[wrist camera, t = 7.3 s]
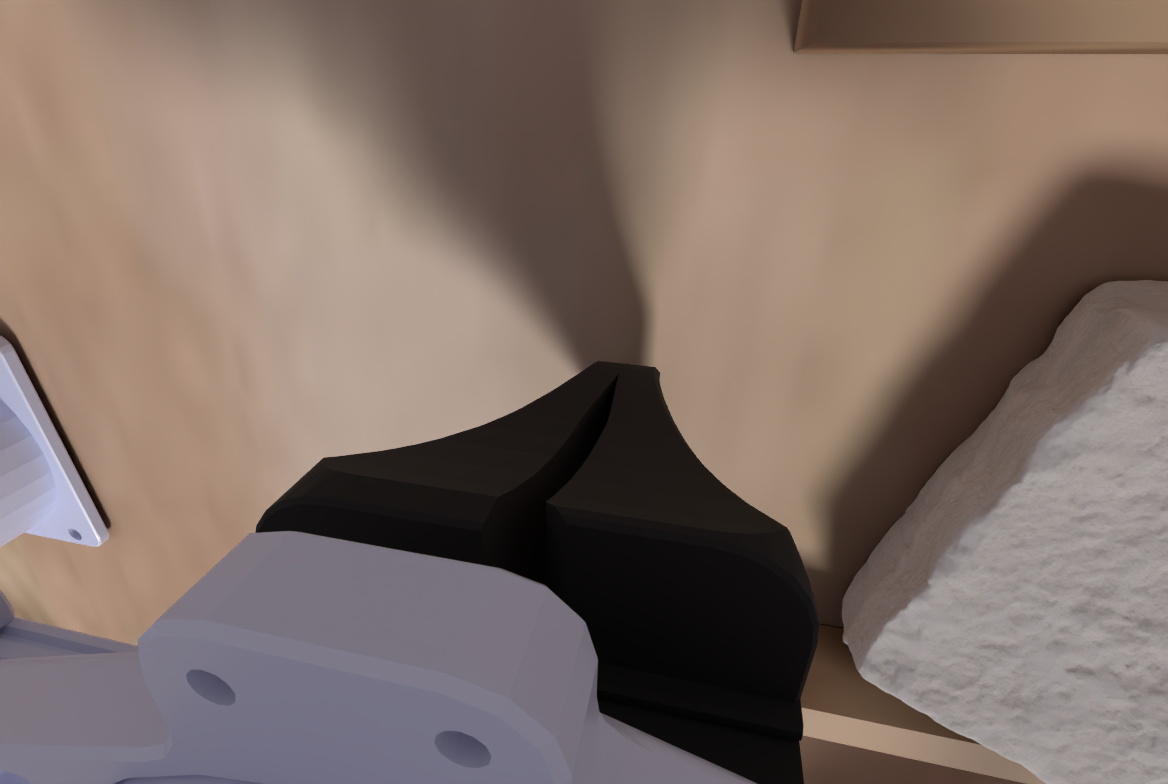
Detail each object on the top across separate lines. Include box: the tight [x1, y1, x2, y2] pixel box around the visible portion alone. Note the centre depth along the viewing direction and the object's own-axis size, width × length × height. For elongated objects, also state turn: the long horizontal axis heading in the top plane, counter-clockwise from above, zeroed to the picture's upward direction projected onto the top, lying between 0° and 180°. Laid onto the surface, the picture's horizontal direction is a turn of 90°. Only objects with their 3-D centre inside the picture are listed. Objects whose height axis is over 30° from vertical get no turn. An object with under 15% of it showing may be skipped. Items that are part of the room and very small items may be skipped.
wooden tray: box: [793, 0, 1168, 784], centre depth 10 cm, size 12×15×3 cm
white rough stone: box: [842, 280, 1168, 784], centre depth 11 cm, size 10×6×6 cm, turn 158°
